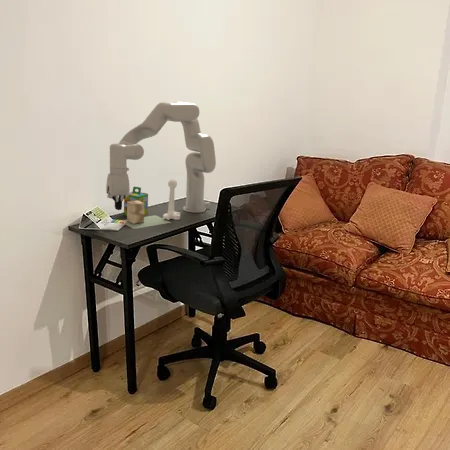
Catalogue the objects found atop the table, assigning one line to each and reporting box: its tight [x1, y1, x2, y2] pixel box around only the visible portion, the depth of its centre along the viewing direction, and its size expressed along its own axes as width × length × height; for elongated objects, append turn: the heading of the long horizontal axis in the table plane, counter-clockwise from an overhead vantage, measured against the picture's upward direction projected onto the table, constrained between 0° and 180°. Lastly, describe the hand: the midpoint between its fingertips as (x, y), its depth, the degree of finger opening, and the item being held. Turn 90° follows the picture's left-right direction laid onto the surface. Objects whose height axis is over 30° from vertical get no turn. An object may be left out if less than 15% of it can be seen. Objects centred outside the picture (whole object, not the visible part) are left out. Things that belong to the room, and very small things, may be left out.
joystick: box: [162, 179, 181, 221], centre depth 240 cm, size 11×8×20 cm
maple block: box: [126, 200, 145, 225], centre depth 231 cm, size 6×6×10 cm
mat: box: [122, 214, 172, 230], centre depth 234 cm, size 21×15×1 cm
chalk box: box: [123, 186, 149, 217], centre depth 243 cm, size 9×9×15 cm
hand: (118, 209), depth 224 cm, fingers closed
